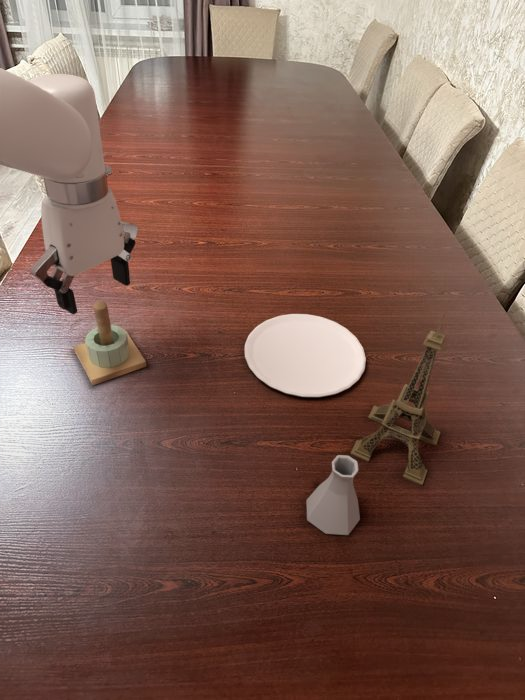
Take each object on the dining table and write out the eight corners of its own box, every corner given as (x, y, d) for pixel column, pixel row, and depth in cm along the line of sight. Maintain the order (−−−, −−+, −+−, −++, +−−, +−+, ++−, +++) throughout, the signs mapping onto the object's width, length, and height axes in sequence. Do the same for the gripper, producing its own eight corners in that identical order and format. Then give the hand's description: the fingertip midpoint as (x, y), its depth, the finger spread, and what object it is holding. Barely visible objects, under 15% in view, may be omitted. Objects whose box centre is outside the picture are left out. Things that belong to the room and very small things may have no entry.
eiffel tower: (373, 406, 82) (413, 273, 65) (439, 433, 79) (500, 301, 62) (350, 454, 75) (388, 319, 58) (421, 485, 72) (484, 352, 55)
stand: (92, 385, 82) (80, 331, 74) (74, 351, 87) (61, 297, 80) (146, 366, 86) (139, 313, 78) (126, 334, 91) (118, 282, 84)
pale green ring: (96, 372, 82) (93, 356, 80) (83, 348, 86) (79, 332, 84) (135, 359, 85) (132, 343, 83) (121, 336, 89) (118, 320, 86)
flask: (353, 545, 65) (369, 501, 58) (298, 524, 66) (307, 480, 60) (365, 497, 70) (381, 452, 63) (313, 479, 71) (323, 433, 65)
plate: (381, 395, 84) (383, 390, 83) (253, 406, 81) (254, 401, 80) (345, 315, 99) (346, 309, 98) (236, 321, 96) (236, 316, 95)
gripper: (111, 158, 73) (124, 263, 84) (-4, 196, 62) (29, 311, 74) (148, 174, 70) (157, 281, 81) (34, 218, 59) (62, 333, 70)
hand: (96, 295), depth 77 cm, fingers open, 9 cm apart
